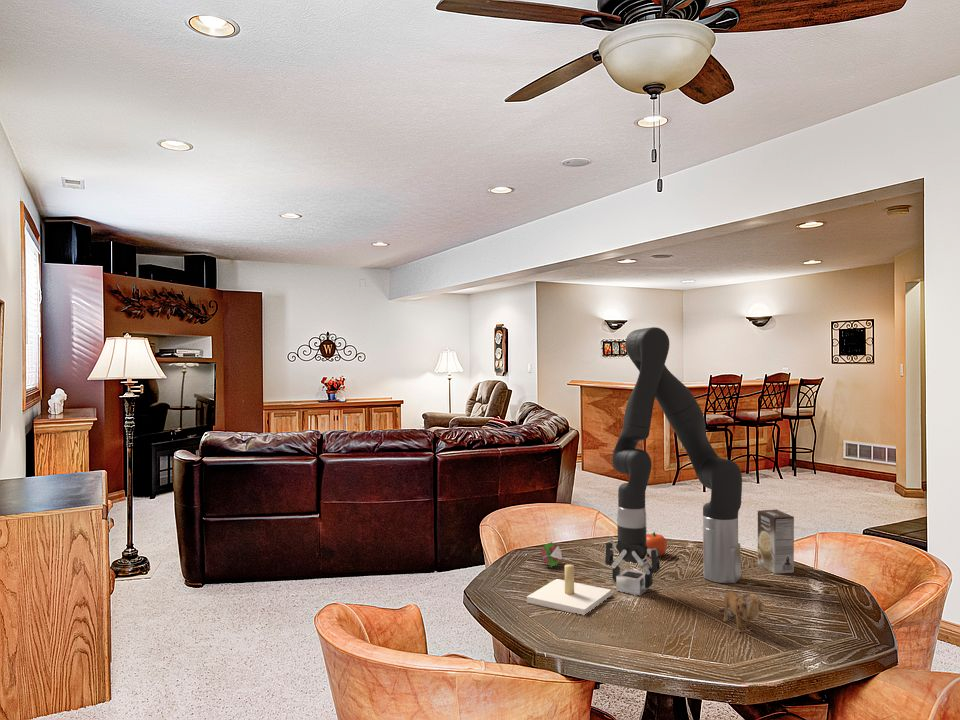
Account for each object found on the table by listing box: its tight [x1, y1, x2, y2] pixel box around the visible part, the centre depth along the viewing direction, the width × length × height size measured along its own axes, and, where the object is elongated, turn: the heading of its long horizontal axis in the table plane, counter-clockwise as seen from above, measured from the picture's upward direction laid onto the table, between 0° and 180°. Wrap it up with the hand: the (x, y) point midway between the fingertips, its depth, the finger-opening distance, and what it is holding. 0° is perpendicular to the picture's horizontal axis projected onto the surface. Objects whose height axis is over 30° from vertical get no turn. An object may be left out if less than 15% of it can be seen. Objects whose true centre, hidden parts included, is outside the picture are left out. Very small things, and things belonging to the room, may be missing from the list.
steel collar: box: [615, 569, 650, 597], centre depth 180 cm, size 6×6×4 cm
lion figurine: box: [718, 591, 766, 633], centre depth 156 cm, size 15×5×9 cm, turn 15°
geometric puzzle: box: [538, 541, 564, 568], centre depth 201 cm, size 7×7×8 cm
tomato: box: [646, 531, 668, 557], centre depth 210 cm, size 8×8×7 cm
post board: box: [526, 563, 612, 616], centre depth 174 cm, size 16×16×8 cm
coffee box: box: [757, 509, 795, 574], centre depth 196 cm, size 9×6×16 cm
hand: (632, 584), depth 180 cm, fingers open, 8 cm apart
